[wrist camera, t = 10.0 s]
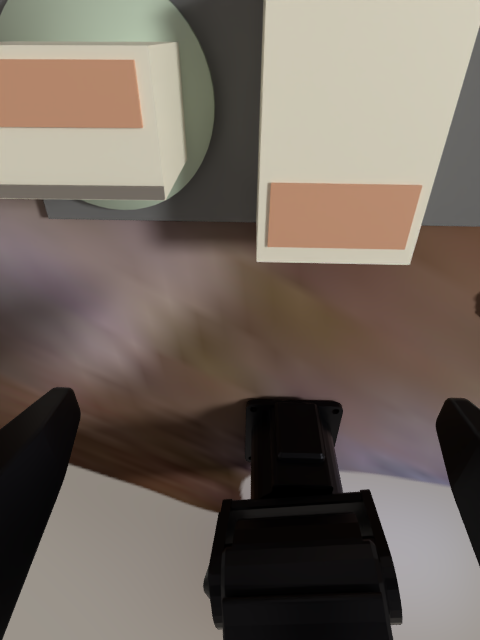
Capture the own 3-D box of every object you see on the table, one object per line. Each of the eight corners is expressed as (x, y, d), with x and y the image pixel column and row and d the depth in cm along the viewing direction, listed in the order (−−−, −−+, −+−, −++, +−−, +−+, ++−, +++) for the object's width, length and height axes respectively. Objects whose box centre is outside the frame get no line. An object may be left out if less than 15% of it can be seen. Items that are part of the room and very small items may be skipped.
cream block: (187, 159, 16) (164, 201, 12) (44, 157, 17) (-25, 199, 12) (178, 42, 14) (147, 45, 10) (12, 41, 14) (-86, 45, 10)
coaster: (218, 205, 18) (216, 211, 18) (39, 202, 19) (32, 208, 18) (211, -37, 13) (209, -40, 13) (-32, -38, 14) (-47, -42, 13)
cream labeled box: (382, 224, 19) (410, 266, 15) (256, 222, 19) (256, 263, 15) (441, -28, 13) (502, -48, 10) (264, -29, 13) (267, -48, 10)
